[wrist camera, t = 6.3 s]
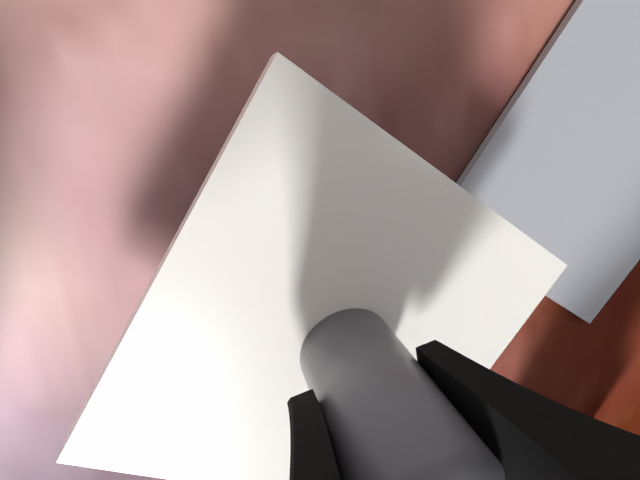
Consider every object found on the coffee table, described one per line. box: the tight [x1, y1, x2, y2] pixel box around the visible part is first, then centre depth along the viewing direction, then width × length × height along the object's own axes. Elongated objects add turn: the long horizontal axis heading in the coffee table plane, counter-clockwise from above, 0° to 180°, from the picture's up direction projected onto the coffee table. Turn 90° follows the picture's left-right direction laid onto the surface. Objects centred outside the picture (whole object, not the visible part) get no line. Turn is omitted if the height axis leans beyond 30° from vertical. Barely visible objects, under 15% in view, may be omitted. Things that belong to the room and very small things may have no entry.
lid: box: [56, 52, 567, 480], centre depth 10 cm, size 12×12×6 cm
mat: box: [456, 0, 640, 324], centre depth 19 cm, size 14×14×1 cm
